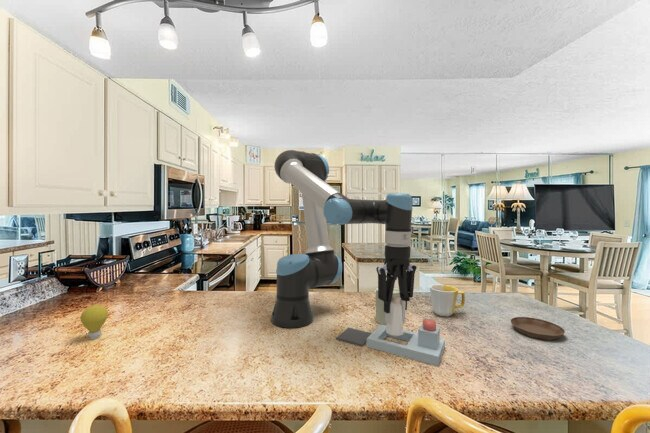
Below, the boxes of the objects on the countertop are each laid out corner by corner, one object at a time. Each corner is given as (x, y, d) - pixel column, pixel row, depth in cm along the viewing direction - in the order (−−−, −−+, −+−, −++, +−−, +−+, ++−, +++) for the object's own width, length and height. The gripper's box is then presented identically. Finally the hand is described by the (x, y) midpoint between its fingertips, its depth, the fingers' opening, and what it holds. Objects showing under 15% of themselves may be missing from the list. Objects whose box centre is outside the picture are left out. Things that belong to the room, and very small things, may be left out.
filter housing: (366, 346, 85) (367, 323, 85) (380, 332, 96) (380, 311, 95) (438, 366, 75) (438, 339, 75) (444, 347, 85) (445, 324, 85)
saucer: (563, 347, 87) (563, 339, 86) (506, 333, 97) (506, 325, 96) (566, 332, 97) (566, 324, 97) (514, 320, 107) (514, 313, 107)
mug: (433, 318, 108) (434, 290, 108) (426, 309, 118) (426, 283, 118) (471, 319, 107) (472, 292, 107) (460, 310, 117) (461, 284, 117)
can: (401, 326, 100) (402, 292, 100) (374, 324, 102) (375, 290, 102) (400, 317, 109) (400, 285, 109) (375, 315, 111) (375, 284, 111)
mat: (336, 339, 90) (336, 337, 90) (348, 329, 98) (348, 327, 98) (362, 346, 85) (362, 344, 85) (373, 335, 93) (373, 333, 93)
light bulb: (113, 335, 91) (113, 303, 91) (90, 344, 85) (89, 310, 84) (98, 331, 93) (98, 301, 93) (75, 340, 87) (74, 307, 86)
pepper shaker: (407, 335, 85) (408, 298, 85) (390, 336, 84) (391, 299, 83) (398, 327, 90) (399, 293, 90) (382, 328, 89) (383, 293, 89)
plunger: (421, 329, 81) (421, 322, 81) (423, 325, 84) (424, 318, 84) (434, 332, 79) (434, 325, 79) (436, 327, 82) (437, 320, 82)
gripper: (381, 248, 79) (379, 331, 80) (428, 245, 86) (425, 322, 87) (366, 244, 86) (364, 321, 87) (411, 242, 93) (408, 313, 94)
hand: (394, 321), depth 87 cm, fingers closed on pepper shaker, 4 cm apart
